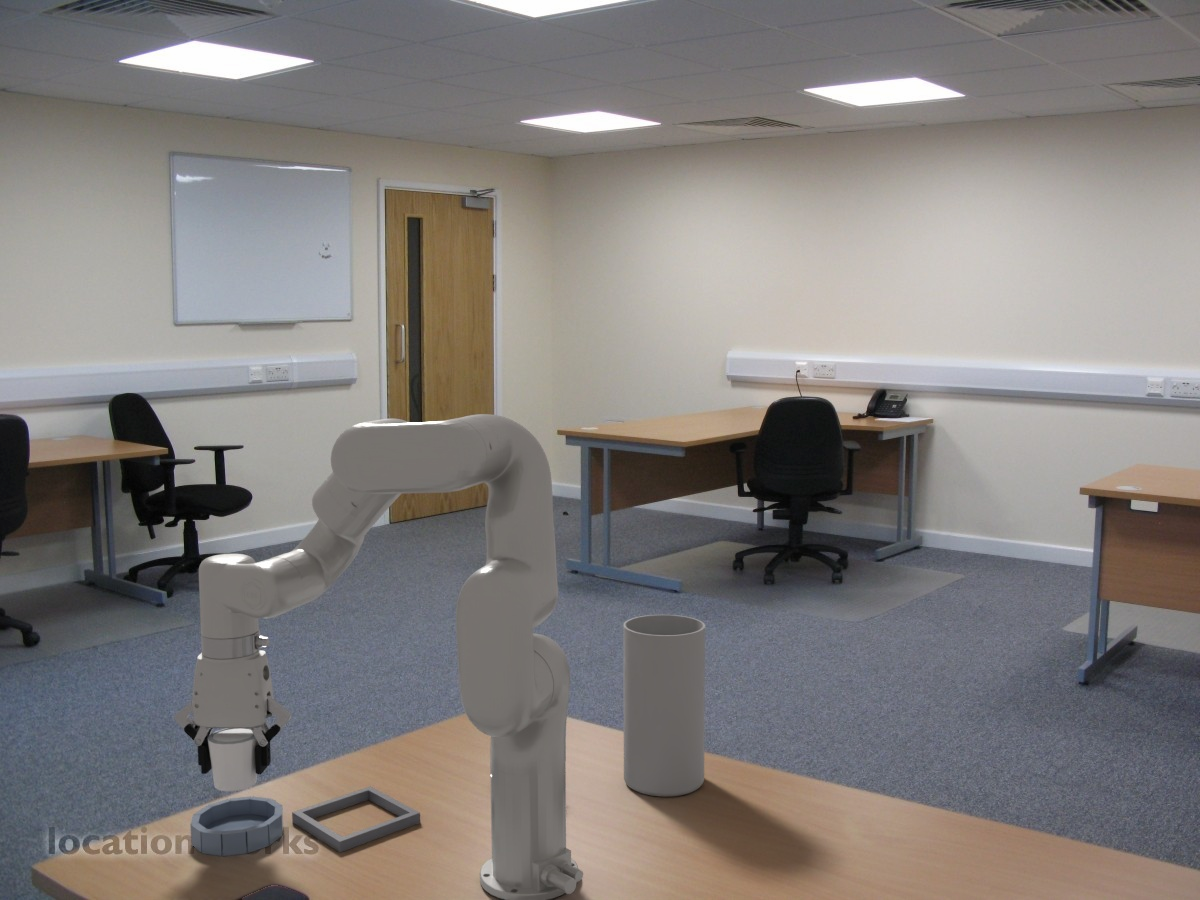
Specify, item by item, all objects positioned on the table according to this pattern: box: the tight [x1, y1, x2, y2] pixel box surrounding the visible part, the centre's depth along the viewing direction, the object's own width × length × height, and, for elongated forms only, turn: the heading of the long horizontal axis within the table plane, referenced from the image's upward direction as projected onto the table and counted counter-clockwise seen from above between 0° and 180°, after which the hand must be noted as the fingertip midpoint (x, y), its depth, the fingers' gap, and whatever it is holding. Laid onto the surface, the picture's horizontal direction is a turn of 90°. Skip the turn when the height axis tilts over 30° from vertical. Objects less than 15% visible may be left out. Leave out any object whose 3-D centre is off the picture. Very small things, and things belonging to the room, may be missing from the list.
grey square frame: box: [291, 785, 421, 853], centre depth 158 cm, size 13×13×2 cm
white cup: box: [208, 728, 258, 792], centre depth 154 cm, size 7×7×7 cm
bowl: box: [190, 795, 284, 857], centre depth 154 cm, size 12×12×3 cm
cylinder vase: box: [622, 614, 706, 798], centre depth 171 cm, size 12×12×25 cm
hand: (234, 769), depth 154 cm, fingers closed on white cup, 6 cm apart
